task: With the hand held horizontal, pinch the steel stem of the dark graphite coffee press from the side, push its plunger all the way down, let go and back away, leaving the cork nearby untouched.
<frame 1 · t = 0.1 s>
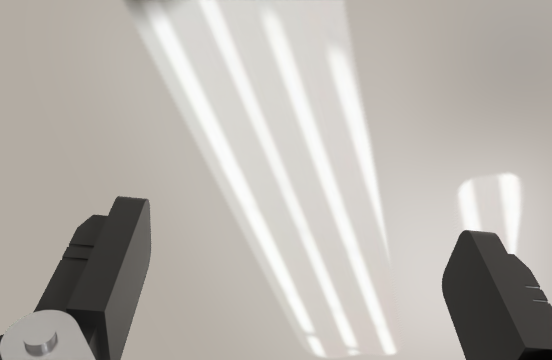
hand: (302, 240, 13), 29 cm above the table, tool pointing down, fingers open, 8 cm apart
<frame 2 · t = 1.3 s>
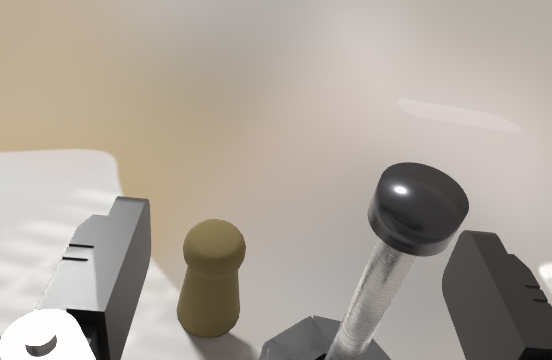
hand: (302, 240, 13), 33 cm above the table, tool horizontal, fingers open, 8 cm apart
cork: (208, 310, 48), on the table
plunger: (356, 329, 27), point 19 cm above the table, slide at -0.1 cm
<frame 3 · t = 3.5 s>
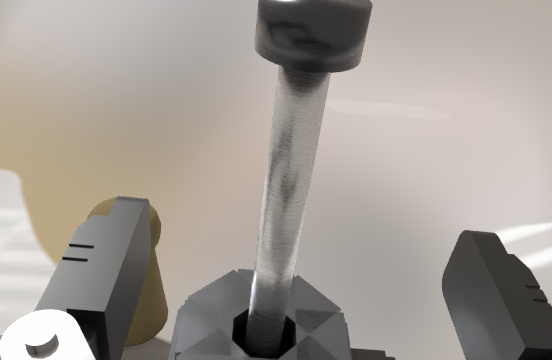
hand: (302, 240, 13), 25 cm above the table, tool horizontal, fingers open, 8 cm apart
cork: (130, 316, 41), on the table
plunger: (277, 243, 22), point 19 cm above the table, slide at -0.1 cm
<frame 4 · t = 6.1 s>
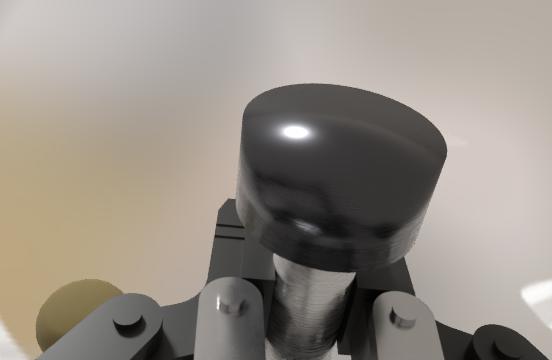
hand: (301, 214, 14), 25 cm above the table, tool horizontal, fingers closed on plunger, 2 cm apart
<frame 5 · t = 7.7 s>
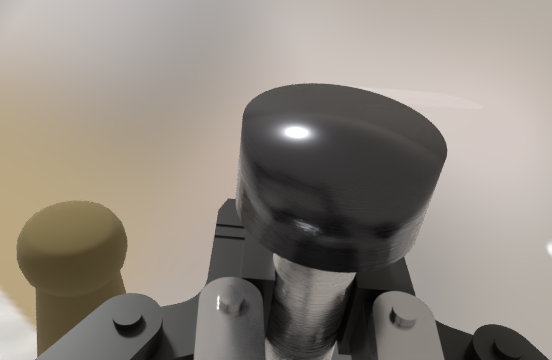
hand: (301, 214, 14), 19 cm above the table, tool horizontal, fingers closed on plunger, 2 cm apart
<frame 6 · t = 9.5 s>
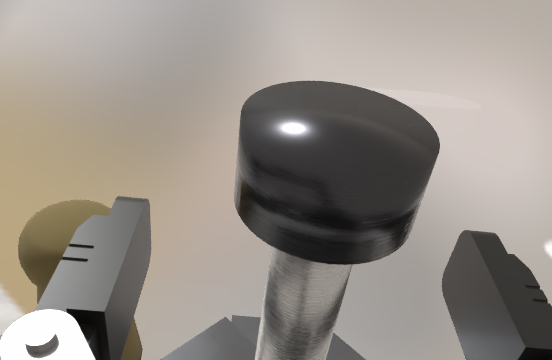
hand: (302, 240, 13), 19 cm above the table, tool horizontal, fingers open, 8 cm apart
cork: (92, 358, 31), on the table
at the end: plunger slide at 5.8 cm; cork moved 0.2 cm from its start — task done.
